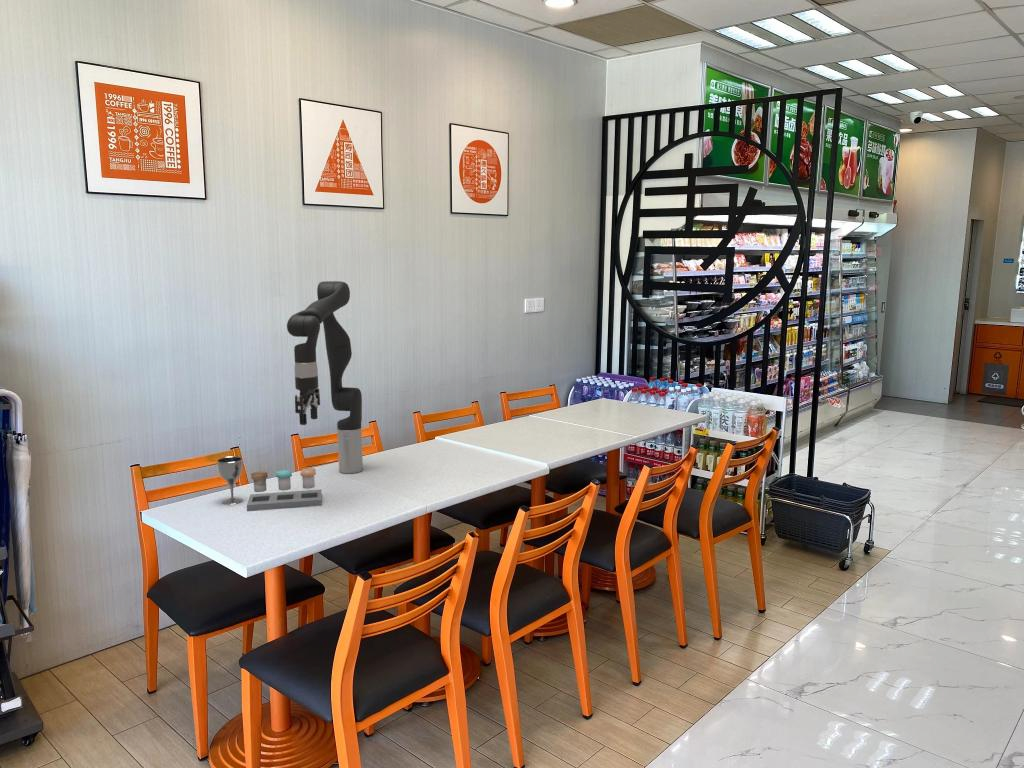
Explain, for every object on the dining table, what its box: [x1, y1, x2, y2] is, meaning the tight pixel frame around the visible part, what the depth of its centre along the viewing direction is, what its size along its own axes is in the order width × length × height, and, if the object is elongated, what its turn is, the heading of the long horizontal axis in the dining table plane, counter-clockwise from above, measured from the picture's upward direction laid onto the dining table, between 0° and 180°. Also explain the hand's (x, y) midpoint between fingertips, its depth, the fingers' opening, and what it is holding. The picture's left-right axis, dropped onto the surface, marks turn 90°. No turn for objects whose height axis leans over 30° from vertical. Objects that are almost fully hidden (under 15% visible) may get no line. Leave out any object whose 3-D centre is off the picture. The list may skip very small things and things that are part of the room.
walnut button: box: [250, 470, 268, 493], centre depth 262 cm, size 5×5×6 cm
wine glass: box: [217, 455, 244, 506], centre depth 265 cm, size 8×8×15 cm
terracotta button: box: [299, 467, 317, 490], centre depth 265 cm, size 5×5×6 cm
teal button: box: [275, 469, 293, 491], centre depth 263 cm, size 5×5×6 cm
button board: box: [246, 489, 322, 512], centre depth 265 cm, size 12×24×2 cm, turn 103°
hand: (308, 421), depth 261 cm, fingers open, 8 cm apart
